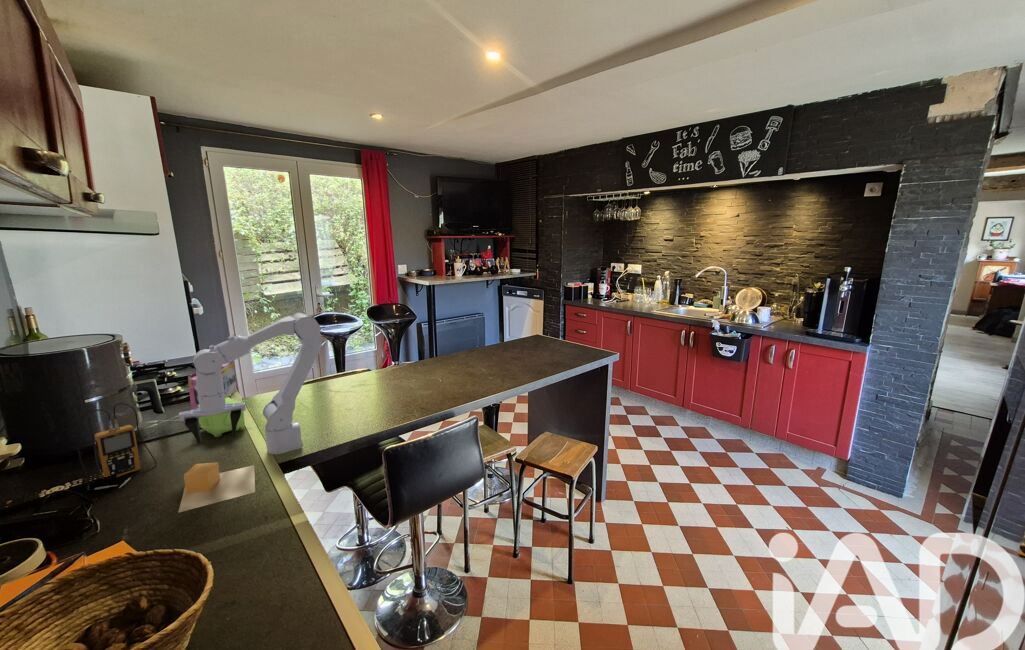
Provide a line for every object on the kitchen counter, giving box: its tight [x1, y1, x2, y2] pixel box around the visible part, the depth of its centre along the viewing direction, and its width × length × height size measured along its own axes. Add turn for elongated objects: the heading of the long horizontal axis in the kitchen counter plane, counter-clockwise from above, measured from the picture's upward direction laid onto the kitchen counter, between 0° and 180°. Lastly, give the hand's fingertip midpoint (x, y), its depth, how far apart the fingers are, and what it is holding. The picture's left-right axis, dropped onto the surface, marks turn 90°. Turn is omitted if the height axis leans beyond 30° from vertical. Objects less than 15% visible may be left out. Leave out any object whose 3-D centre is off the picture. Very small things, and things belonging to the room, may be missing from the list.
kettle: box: [198, 396, 248, 438], centre depth 134 cm, size 15×14×11 cm
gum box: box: [187, 360, 238, 410], centre depth 160 cm, size 24×8×14 cm, turn 15°
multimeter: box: [76, 402, 158, 491], centre depth 105 cm, size 15×10×20 cm
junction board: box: [177, 464, 256, 514], centre depth 101 cm, size 15×15×6 cm
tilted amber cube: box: [183, 461, 221, 493], centre depth 101 cm, size 5×5×5 cm
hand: (217, 439), depth 110 cm, fingers open, 7 cm apart
